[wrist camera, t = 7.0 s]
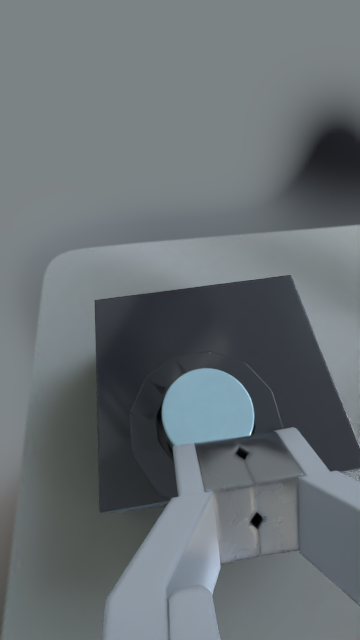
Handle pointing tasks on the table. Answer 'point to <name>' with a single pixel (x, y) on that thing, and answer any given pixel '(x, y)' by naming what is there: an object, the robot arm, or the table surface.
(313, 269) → the table surface
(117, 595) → the robot arm
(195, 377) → the light blue push button
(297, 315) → the grey push button box
